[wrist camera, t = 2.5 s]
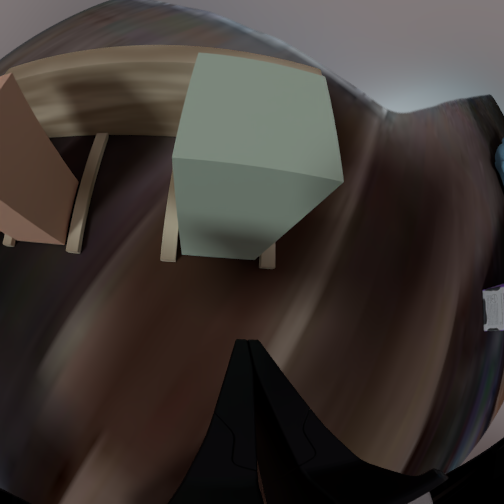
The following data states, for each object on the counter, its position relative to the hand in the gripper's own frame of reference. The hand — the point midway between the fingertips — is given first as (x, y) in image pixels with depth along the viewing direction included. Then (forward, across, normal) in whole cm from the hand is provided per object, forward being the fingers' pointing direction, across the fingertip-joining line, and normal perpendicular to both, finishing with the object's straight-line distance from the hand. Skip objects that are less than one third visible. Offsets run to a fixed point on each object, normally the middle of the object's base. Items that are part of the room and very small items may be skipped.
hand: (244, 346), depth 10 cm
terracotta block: (+11, +14, +1) cm, 18 cm away
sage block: (+11, 0, +1) cm, 11 cm away
